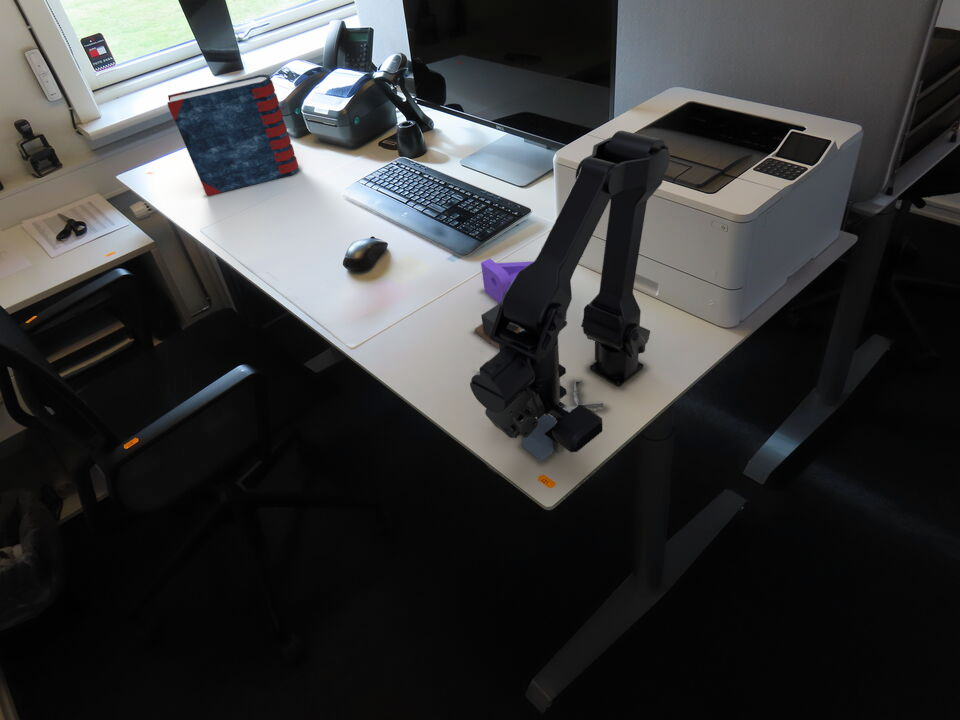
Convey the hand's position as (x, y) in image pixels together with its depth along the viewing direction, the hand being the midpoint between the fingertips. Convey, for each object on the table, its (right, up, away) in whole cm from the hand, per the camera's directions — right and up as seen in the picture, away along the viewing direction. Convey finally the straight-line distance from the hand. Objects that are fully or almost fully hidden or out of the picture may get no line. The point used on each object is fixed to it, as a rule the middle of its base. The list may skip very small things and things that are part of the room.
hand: (543, 440), depth 101 cm
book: (-71, +60, +80) cm, 123 cm away
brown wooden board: (-4, +18, +22) cm, 29 cm away
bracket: (-2, +26, +31) cm, 41 cm away
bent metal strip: (+7, +6, +7) cm, 11 cm away
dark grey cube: (-6, +17, +20) cm, 27 cm away
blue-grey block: (0, -1, +1) cm, 1 cm away
